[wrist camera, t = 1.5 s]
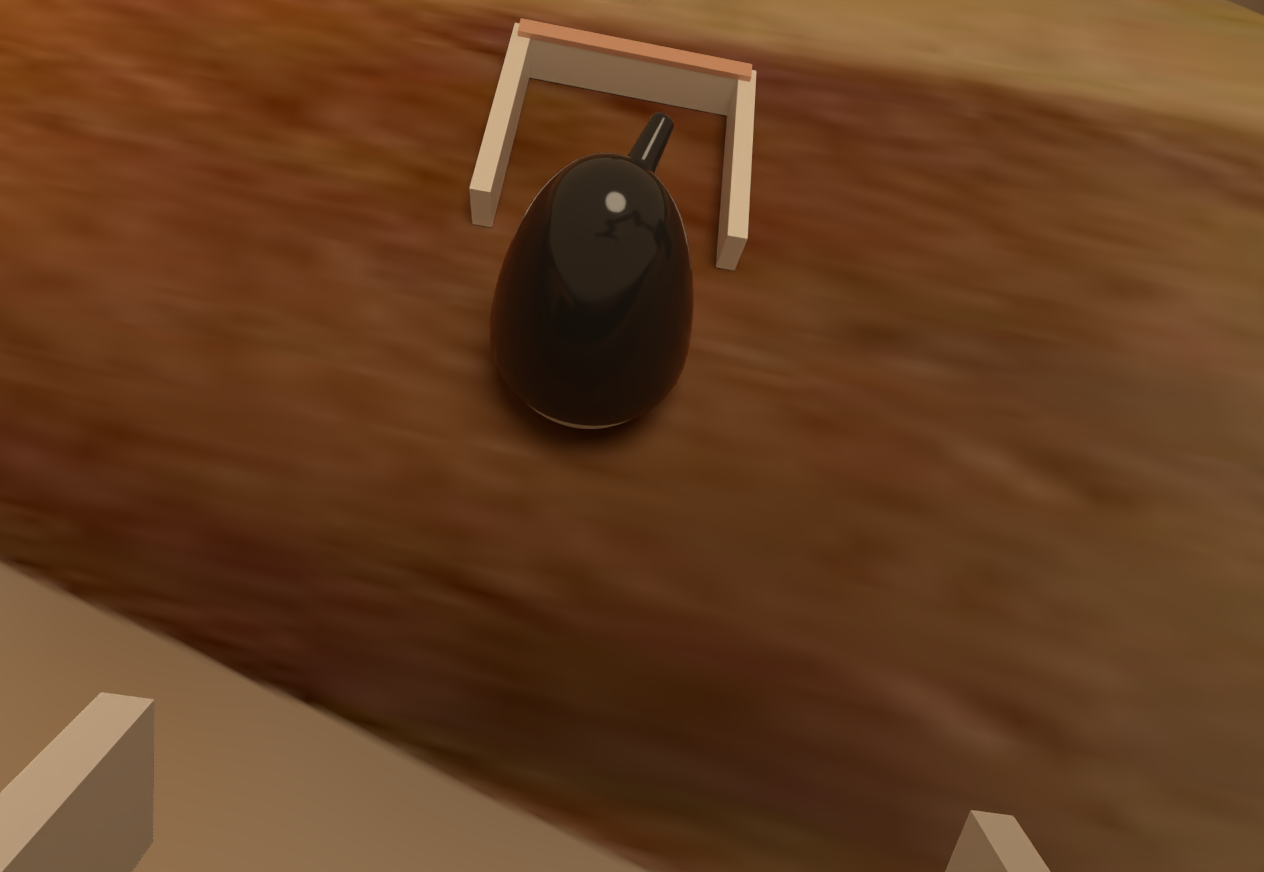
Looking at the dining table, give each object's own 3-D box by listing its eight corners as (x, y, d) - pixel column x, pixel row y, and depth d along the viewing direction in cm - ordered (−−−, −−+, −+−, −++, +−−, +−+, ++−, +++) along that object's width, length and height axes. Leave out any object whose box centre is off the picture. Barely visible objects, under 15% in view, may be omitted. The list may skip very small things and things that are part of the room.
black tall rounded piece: (701, 343, 44) (782, 143, 31) (626, 487, 40) (682, 328, 26) (548, 270, 45) (561, 43, 31) (457, 403, 40) (426, 206, 27)
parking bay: (744, 106, 53) (758, 65, 50) (734, 270, 47) (749, 234, 44) (515, 62, 52) (514, 17, 49) (472, 223, 46) (469, 183, 43)
